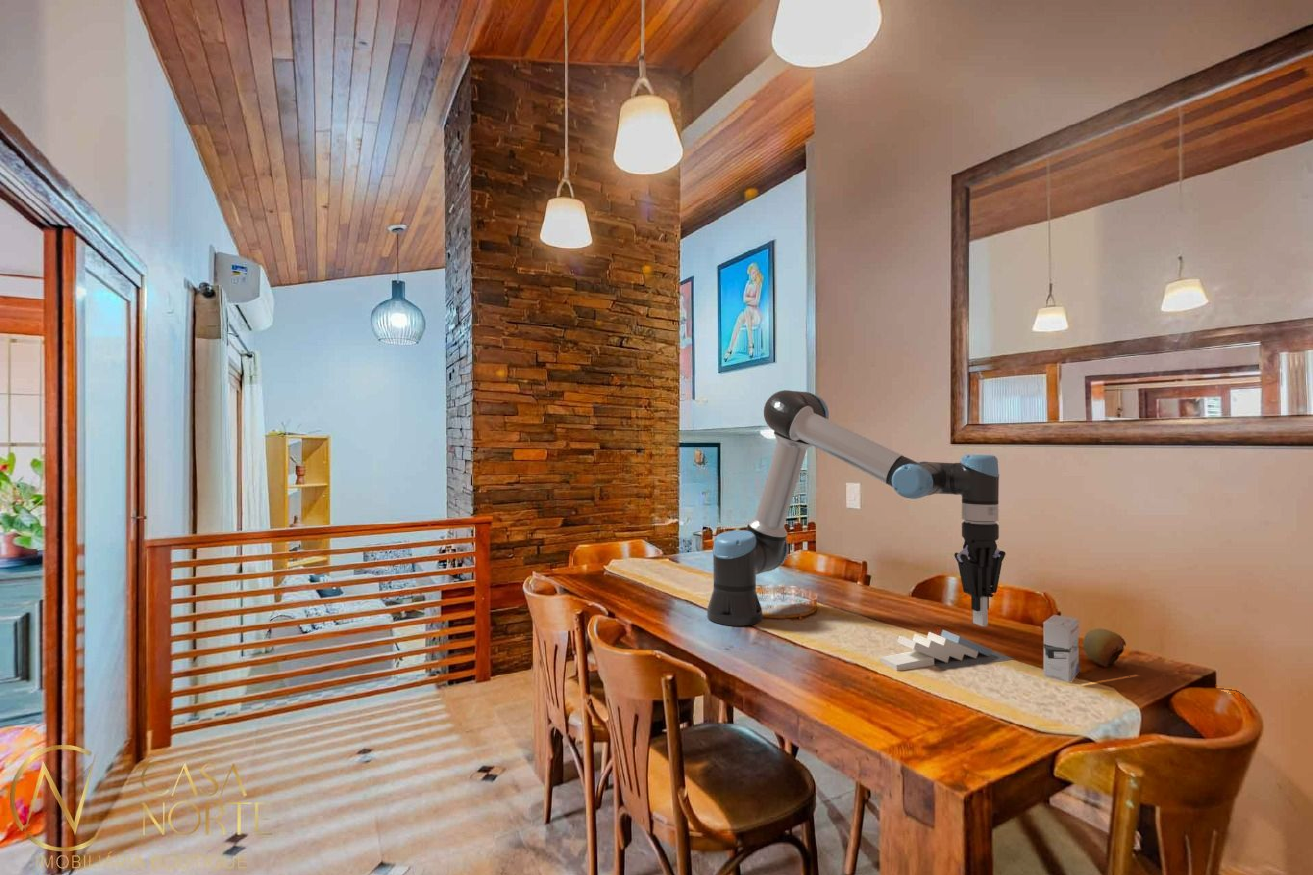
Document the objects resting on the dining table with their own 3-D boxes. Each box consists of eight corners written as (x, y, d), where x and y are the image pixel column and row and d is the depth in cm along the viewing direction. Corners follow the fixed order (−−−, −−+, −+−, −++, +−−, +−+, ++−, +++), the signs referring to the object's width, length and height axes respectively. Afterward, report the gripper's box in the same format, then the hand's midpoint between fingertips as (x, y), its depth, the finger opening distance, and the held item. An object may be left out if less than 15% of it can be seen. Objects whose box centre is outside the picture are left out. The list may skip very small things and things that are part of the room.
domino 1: (934, 664, 133) (896, 672, 130) (917, 657, 138) (881, 664, 135) (934, 657, 133) (896, 665, 130) (917, 650, 138) (880, 657, 135)
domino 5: (989, 656, 138) (957, 643, 135) (971, 649, 143) (940, 636, 140) (991, 649, 138) (959, 636, 135) (973, 642, 143) (942, 629, 140)
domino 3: (961, 660, 136) (928, 647, 133) (944, 653, 140) (912, 640, 137) (964, 654, 136) (931, 640, 133) (946, 646, 140) (914, 633, 138)
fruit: (1121, 662, 135) (1121, 626, 135) (1129, 675, 128) (1129, 637, 128) (1080, 657, 139) (1080, 622, 139) (1085, 669, 132) (1085, 632, 132)
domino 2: (947, 662, 134) (913, 649, 131) (930, 655, 139) (897, 642, 136) (949, 655, 134) (915, 642, 131) (932, 648, 139) (899, 635, 136)
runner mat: (906, 654, 141) (906, 652, 141) (974, 645, 147) (974, 643, 147) (943, 672, 130) (943, 670, 130) (1014, 661, 137) (1014, 659, 137)
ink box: (1052, 667, 133) (1052, 613, 133) (1080, 673, 129) (1080, 618, 129) (1042, 678, 127) (1042, 621, 127) (1070, 685, 123) (1070, 626, 123)
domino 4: (976, 658, 137) (943, 645, 134) (958, 651, 142) (926, 638, 139) (978, 651, 137) (945, 638, 134) (960, 644, 142) (928, 631, 139)
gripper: (970, 525, 135) (971, 632, 135) (1015, 522, 139) (1016, 626, 139) (944, 520, 142) (945, 622, 142) (988, 518, 146) (988, 617, 146)
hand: (980, 624), depth 140 cm, fingers closed
